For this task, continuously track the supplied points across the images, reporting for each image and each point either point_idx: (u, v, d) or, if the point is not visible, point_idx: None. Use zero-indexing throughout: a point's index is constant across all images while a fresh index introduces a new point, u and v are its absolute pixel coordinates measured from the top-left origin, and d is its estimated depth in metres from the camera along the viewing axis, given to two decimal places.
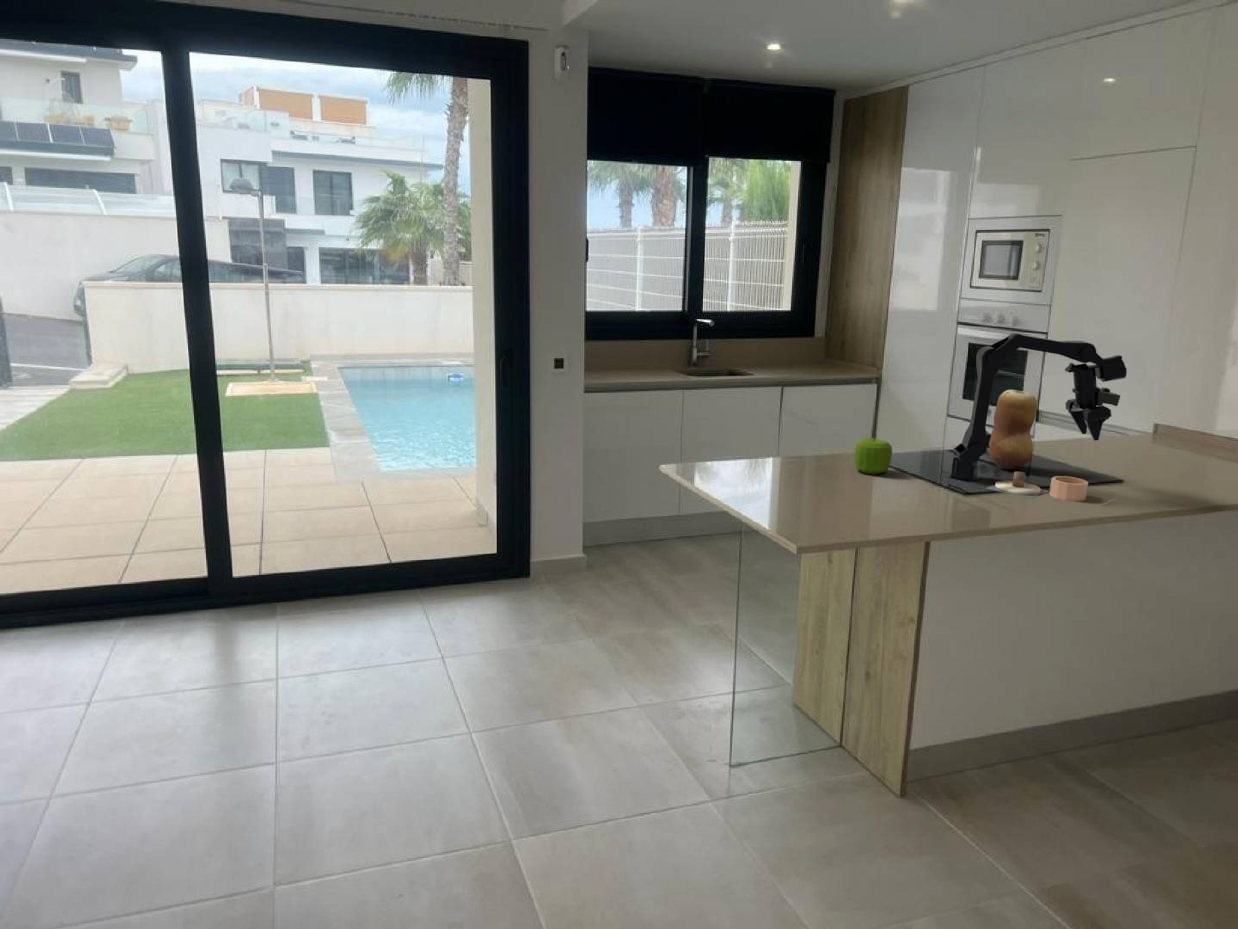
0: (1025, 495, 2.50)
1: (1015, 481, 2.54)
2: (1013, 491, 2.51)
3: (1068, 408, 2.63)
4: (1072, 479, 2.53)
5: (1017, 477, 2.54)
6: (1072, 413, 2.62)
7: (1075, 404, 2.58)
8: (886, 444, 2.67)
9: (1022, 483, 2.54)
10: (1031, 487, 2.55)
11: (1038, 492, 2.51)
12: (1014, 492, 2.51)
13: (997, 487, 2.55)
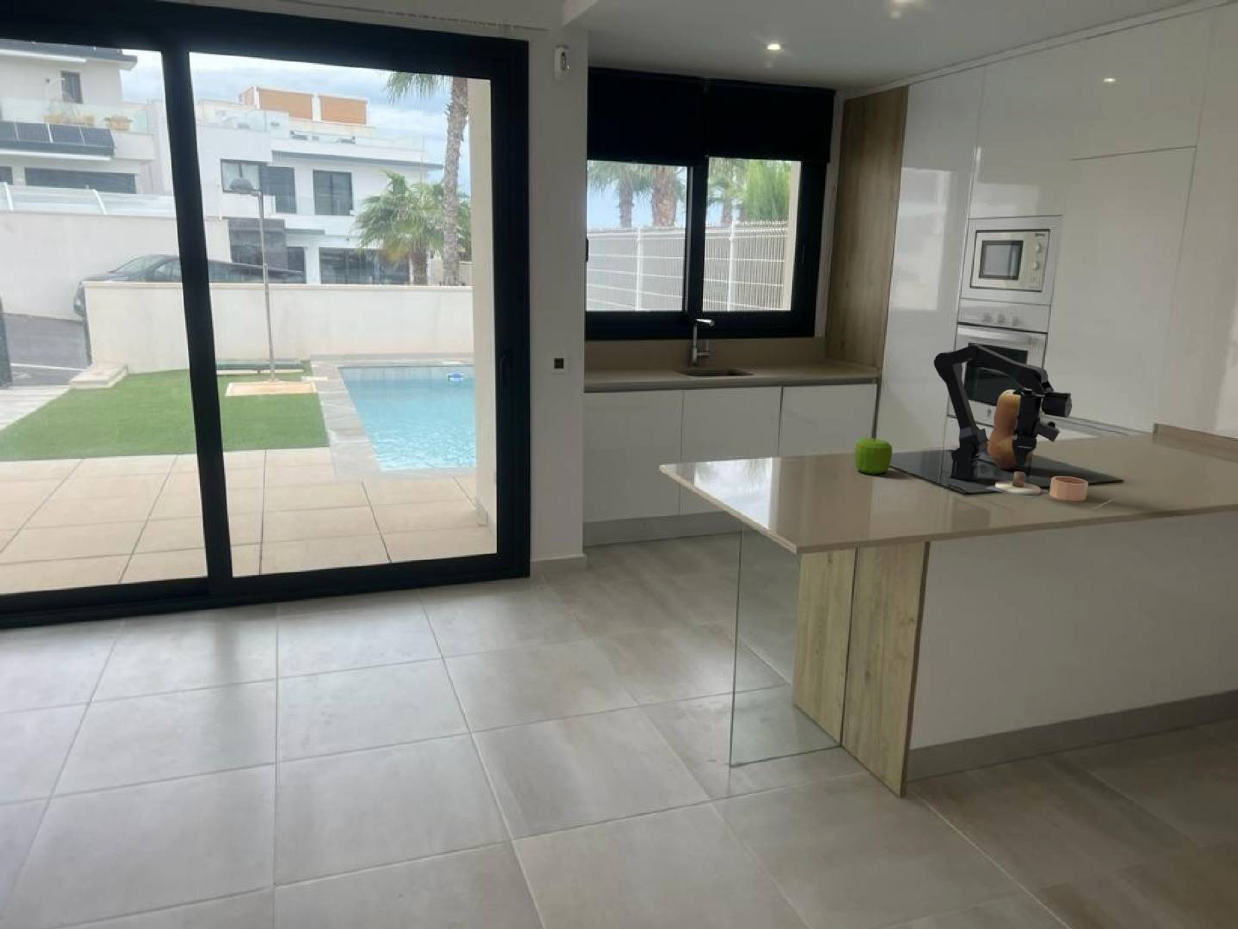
0: (1025, 495, 2.50)
1: (1015, 481, 2.54)
2: (1013, 491, 2.51)
3: None
4: (1072, 479, 2.53)
5: (1017, 477, 2.54)
6: None
7: None
8: (886, 444, 2.67)
9: (1022, 483, 2.54)
10: (1031, 487, 2.55)
11: (1038, 492, 2.51)
12: (1014, 492, 2.51)
13: (997, 487, 2.55)
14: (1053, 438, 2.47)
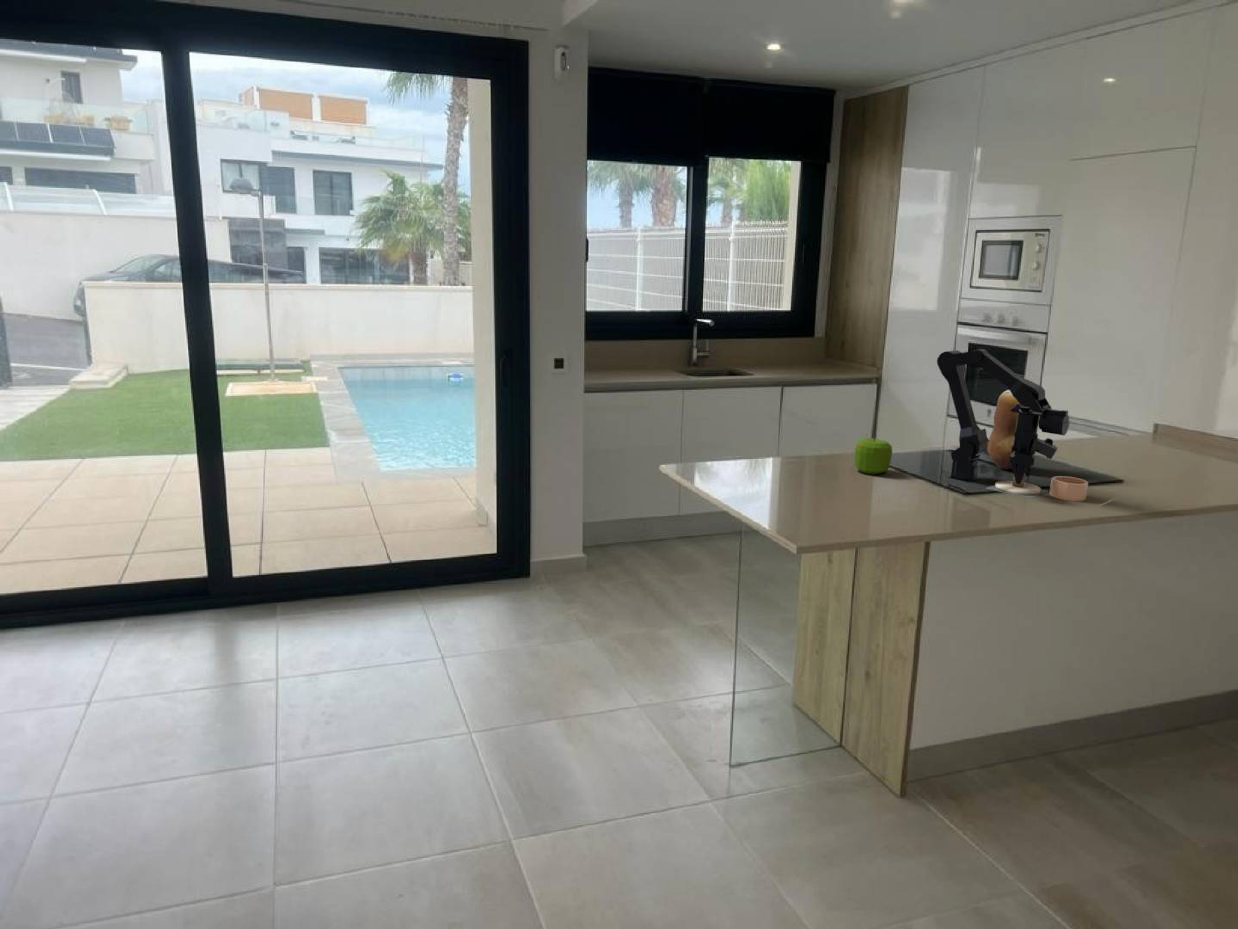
0: (1025, 495, 2.50)
1: (1015, 481, 2.54)
2: (1013, 491, 2.51)
3: None
4: (1072, 479, 2.53)
5: None
6: None
7: None
8: (886, 444, 2.67)
9: (1022, 483, 2.54)
10: (1031, 487, 2.55)
11: (1038, 492, 2.51)
12: (1014, 492, 2.51)
13: (997, 487, 2.55)
14: (1051, 455, 2.48)
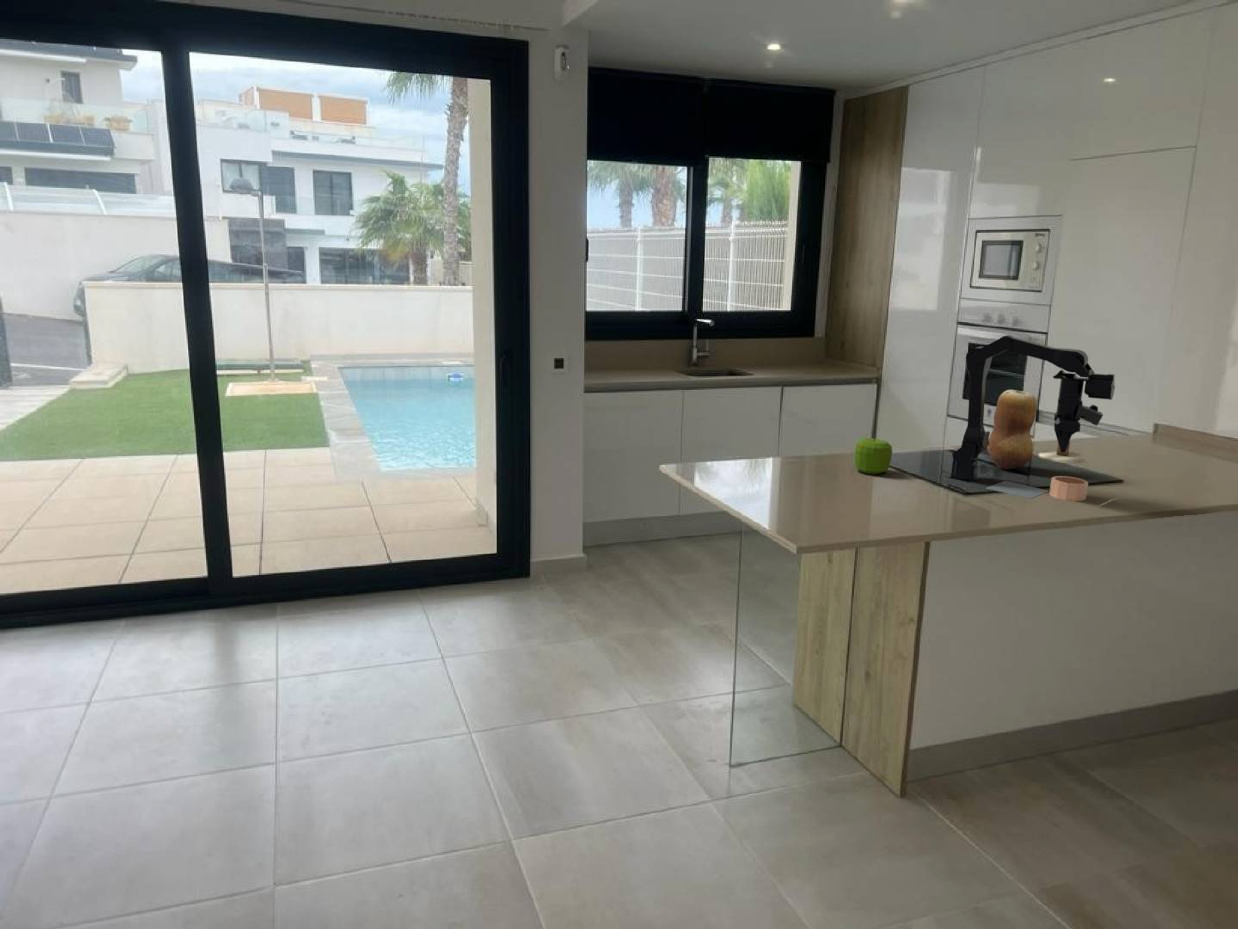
0: (1025, 495, 2.50)
1: (1059, 449, 2.48)
2: (1058, 459, 2.44)
3: (1054, 418, 2.54)
4: (1072, 479, 2.53)
5: None
6: None
7: None
8: (886, 444, 2.67)
9: (1067, 451, 2.47)
10: (1076, 455, 2.48)
11: (1084, 460, 2.45)
12: (1059, 460, 2.44)
13: (1041, 456, 2.49)
14: (1096, 421, 2.41)
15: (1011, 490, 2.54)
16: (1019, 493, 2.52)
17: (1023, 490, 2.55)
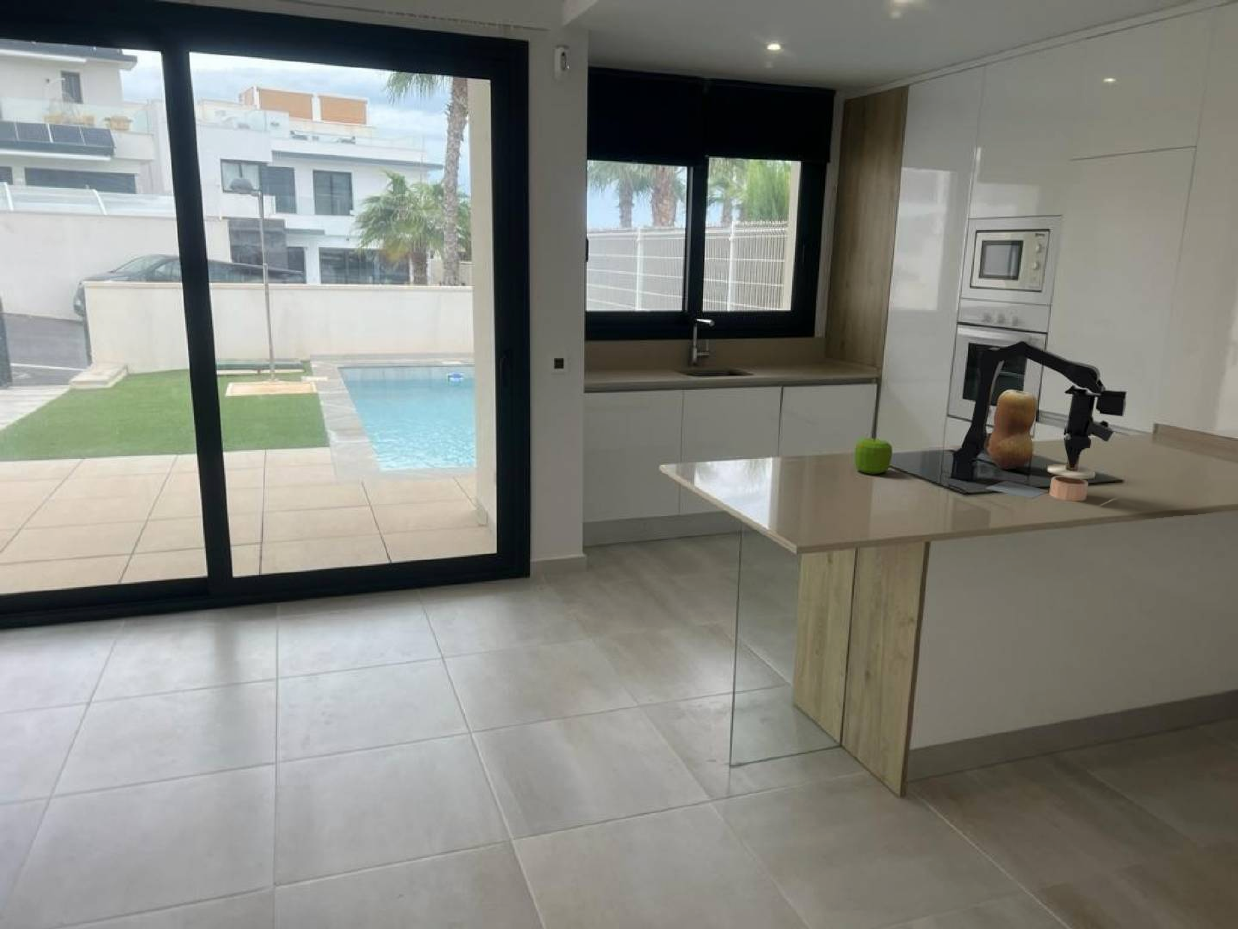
0: (1025, 495, 2.50)
1: None
2: (1068, 474, 2.44)
3: None
4: (1072, 479, 2.53)
5: None
6: None
7: (1066, 428, 2.48)
8: (886, 444, 2.67)
9: (1076, 466, 2.47)
10: (1085, 471, 2.48)
11: (1093, 476, 2.45)
12: (1069, 475, 2.44)
13: (1050, 471, 2.49)
14: (1107, 438, 2.41)
15: (1011, 490, 2.54)
16: (1019, 493, 2.52)
17: (1023, 490, 2.55)
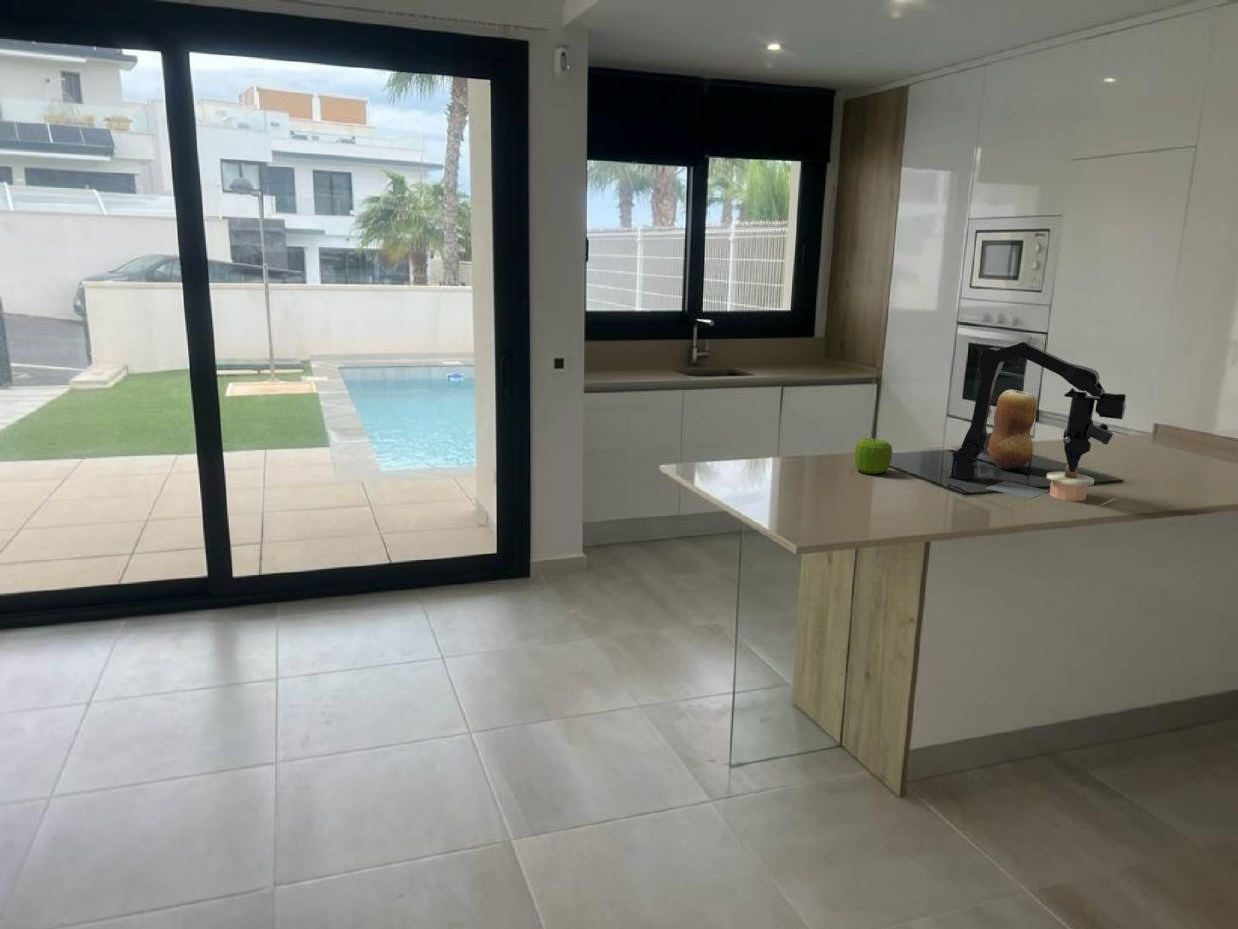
0: (1025, 495, 2.50)
1: (1068, 471, 2.48)
2: (1067, 482, 2.45)
3: (1063, 435, 2.54)
4: None
5: None
6: (1065, 442, 2.52)
7: (1066, 431, 2.48)
8: (886, 444, 2.67)
9: (1075, 474, 2.48)
10: (1084, 478, 2.48)
11: (1092, 483, 2.45)
12: (1068, 483, 2.44)
13: (1049, 478, 2.49)
14: (1106, 441, 2.42)
15: (1011, 490, 2.54)
16: (1019, 493, 2.52)
17: (1023, 490, 2.55)
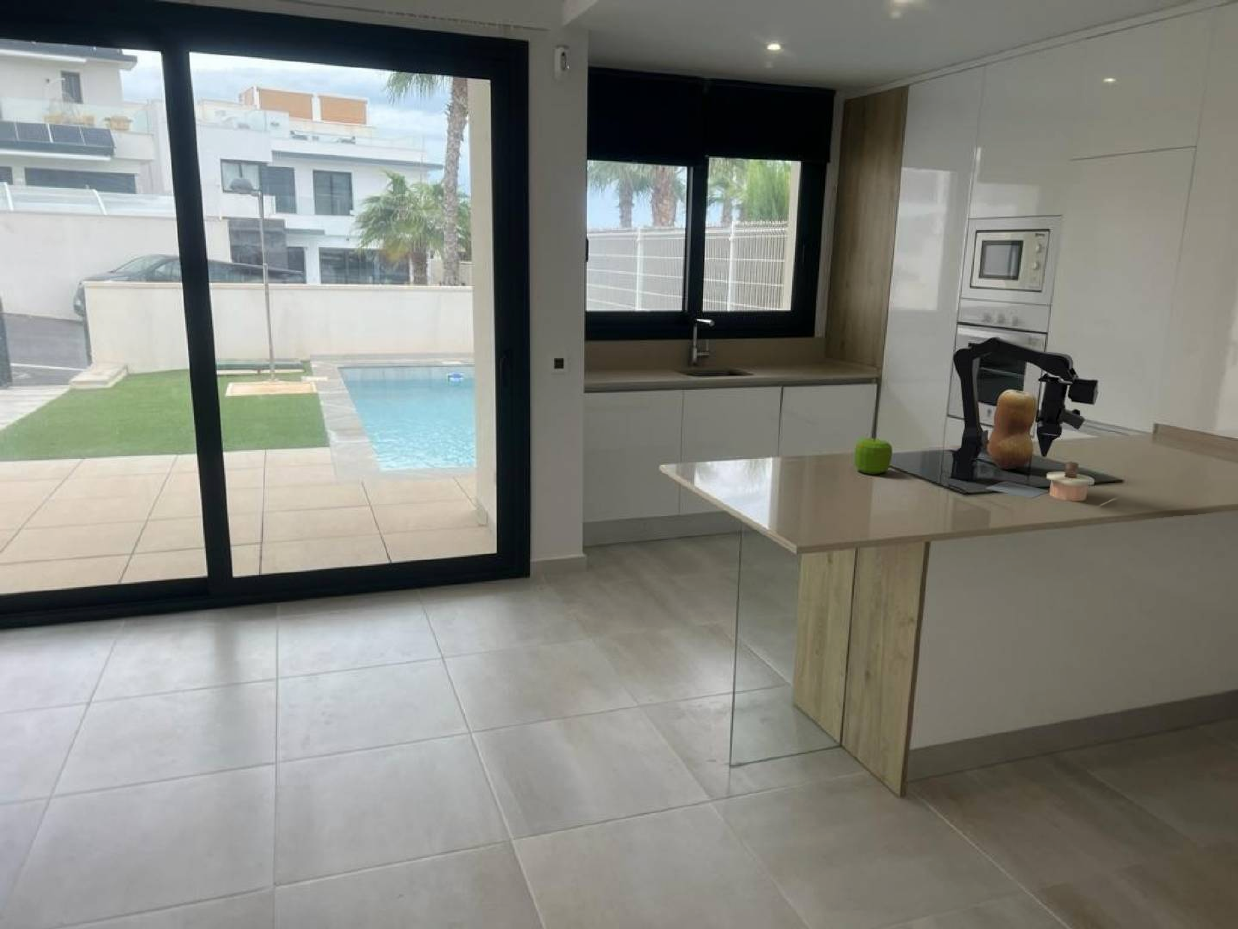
0: (1025, 495, 2.50)
1: (1068, 471, 2.48)
2: (1067, 482, 2.45)
3: (1037, 420, 2.56)
4: None
5: (1070, 467, 2.48)
6: None
7: None
8: (886, 444, 2.67)
9: (1075, 474, 2.48)
10: (1084, 478, 2.48)
11: (1092, 483, 2.45)
12: (1068, 483, 2.44)
13: (1049, 478, 2.49)
14: (1078, 426, 2.44)
15: (1011, 490, 2.54)
16: (1019, 493, 2.52)
17: (1023, 490, 2.55)
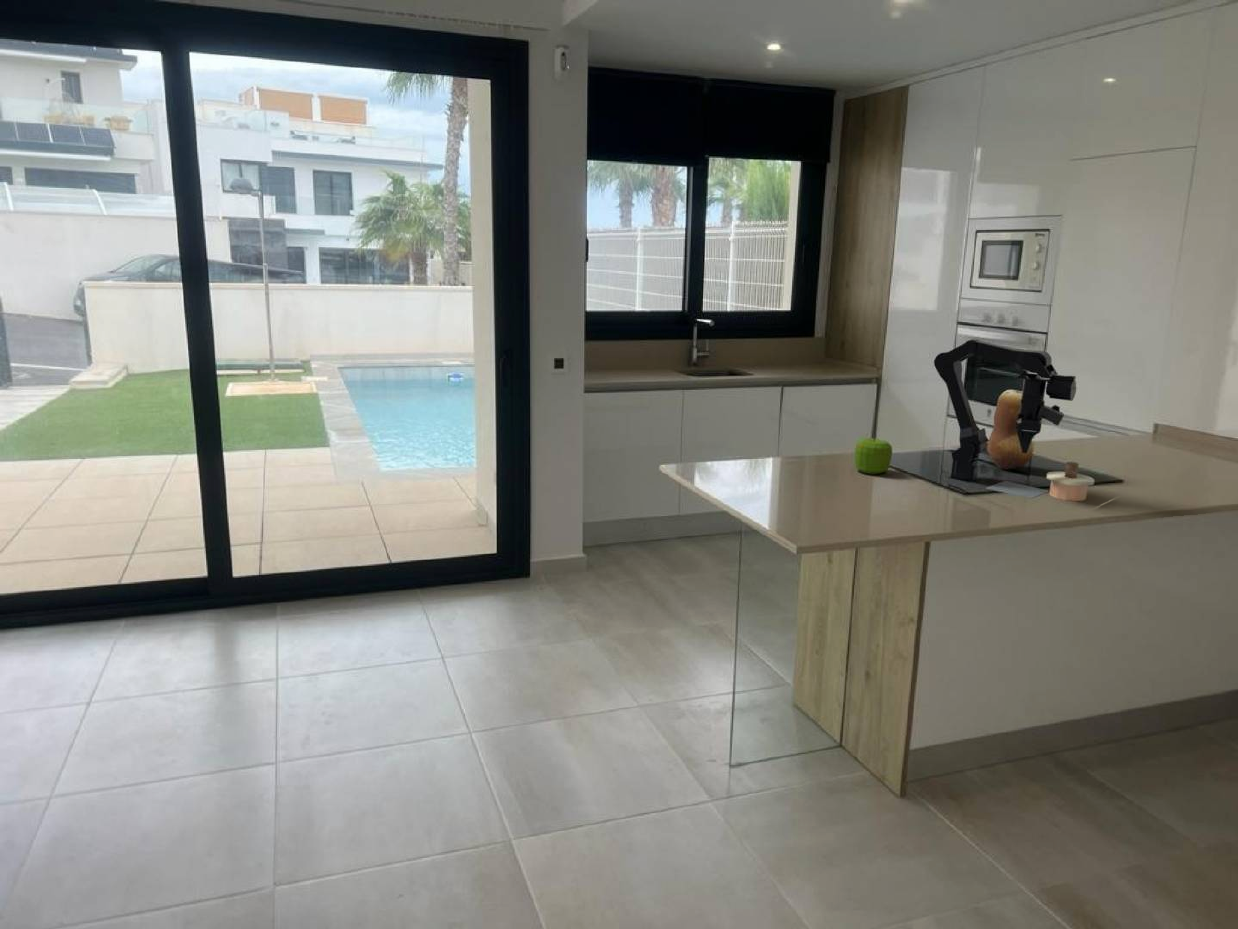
0: (1025, 495, 2.50)
1: (1068, 471, 2.48)
2: (1067, 482, 2.45)
3: None
4: None
5: (1070, 467, 2.48)
6: None
7: None
8: (886, 444, 2.67)
9: (1075, 474, 2.48)
10: (1084, 478, 2.48)
11: (1092, 483, 2.45)
12: (1068, 483, 2.44)
13: (1049, 478, 2.49)
14: (1057, 422, 2.46)
15: (1011, 490, 2.54)
16: (1019, 493, 2.52)
17: (1023, 490, 2.55)
